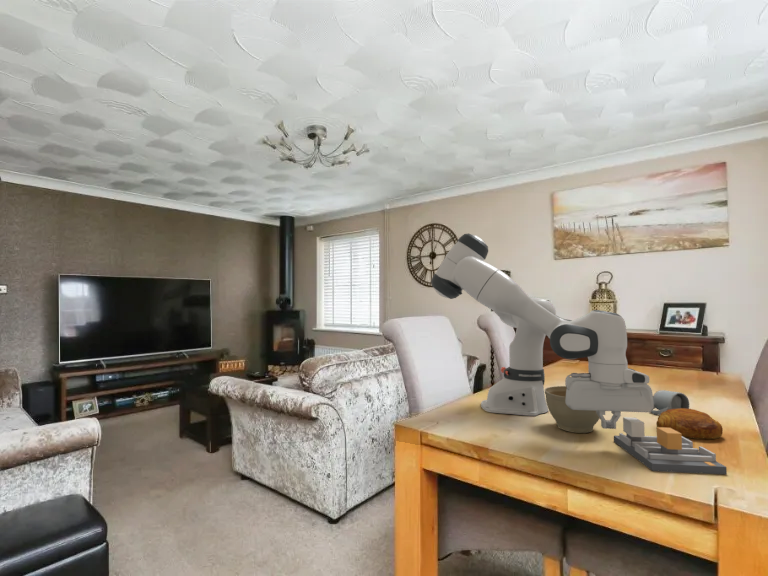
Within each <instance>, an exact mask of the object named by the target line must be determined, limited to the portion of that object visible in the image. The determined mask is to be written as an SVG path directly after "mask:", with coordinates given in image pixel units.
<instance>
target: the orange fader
mask: <svg viewBox="0 0 768 576" xmlns="http://www.w3.org/2000/svg"><path fill="white" fill-rule="evenodd" d="M656 436H657V443H659V444H660V445H661V453H662V454H675V455H678V450H682V434H681V433H679V432H677V431H675V430H674V429H672V428H664V427H657V426H656Z"/></svg>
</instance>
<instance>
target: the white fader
mask: <svg viewBox="0 0 768 576" xmlns="http://www.w3.org/2000/svg"><path fill="white" fill-rule="evenodd" d="M622 423H623V424H622V425H623V426H622V428H623V430H622V431H623V432H624V433H625V435H626V436H627V437H628V438H629V439H631V441H633V442H641V437H645V436H646V435H645V433H646V432H645V422H644V421H643V420H640V419H639V418H637V417H629V416H628V417H626V416H625V417H622Z"/></svg>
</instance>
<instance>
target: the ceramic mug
mask: <svg viewBox="0 0 768 576" xmlns="http://www.w3.org/2000/svg"><path fill="white" fill-rule="evenodd" d="M653 403H654V407H653V410H652V411H651V412H650V413H651V414H652V415H655V416H656V415H657V416H660V414H661V413H662V412H664V411H667V410H670V409H680V408H686V409H690V400H689V398H688V396H687V395H686V394H685V393H683V392H679V391H670V390H666V389H665V390H661V389H660V390H658V391H655V393H653ZM654 409H656V410H654Z"/></svg>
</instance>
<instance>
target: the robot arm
mask: <svg viewBox="0 0 768 576" xmlns="http://www.w3.org/2000/svg"><path fill="white" fill-rule="evenodd" d="M488 254H489V246H488V245H487V244H486V242H485V241H484V239H482V238H481V237H480V236H479V235H476V234H470V233H464V234H462V235H461V236H460V237H459V238H458V239H457V242H456V243H455V244H453V246H452V247H451V248H450V250H449V251H448V252H447V253H446V254H445V257H444V259H443V260H442V262H441V263H440V265H439V266H438V268H437V270H436V272H435V273H433V276H432V277H431V281H430V282H431V287H432V288H433V289H434V291H435V292H436V293H437V294H438V295H439V296H441V297H443V298H444V299H445V298H446V299H450V300H453V299H457V298H458V297H459V296H460V295H463V291H464V292H465V293H467V294H468V295H469V296H471V297H472V299H474V300H476V301H477V302H479V303H480V304H481V305H483V306H484V307H487V308H488V309H490V310H492V312H494V313H495V314H496V315H497V316H498V317H499V320H500V321H501V322H502V323H504V324H505V325H507V326H509V327H512V328H516V331H515V333H514V334H515V335H514V338H513V340H512V341H511V342H510V344H509V347H508V349H509V350H508V353H509V354H508V355H509V356H508V357H509V358H508V359H509V363H508V364H509V366H508V367H505V366H502V367H500V372H501V373H503V378H502V379H500V380H499V381H497V382H496V383H495V384H493V385H492V386H490V387H489V389H488V391H487V396H486V397H487V398H486V399H484V400H482V401H480V407H481V408H482V410H484V411H486V412H488V413H494V414H509V415H520V416H530V417H536V416H538V415H540V414H544V413H547V412H549V409H548V406H547V402H546V394H545V388H544V386H545V380H546V379H545V377H546V376H545V374H546V373H545V369H544V365H543V363H544V362H543V361H544V360H543V359H544V358H543V357H544V353H543V352H544V342H545V338H546V336H547V338H548V339H549V344H550V348H551V349H552V351H553V352H554V353H555V354H556V355H557V356H559V357H560V358H562V359H566V360H577V359H583V358H587V359H588V360H587V361H588V363H587V364H588V372H579V373H578V372H571V373H570V374H568V375H566V377H565V380H564V381H565V385H564V386H566V388H567V390H566V399H565V402H566V405H567V406H568V407H569V408H570V409H572V410H591V411H596V413H597V415H598V416H599V418H600V419H599V420H600V427H601V428H602V429H609V430H610V429H612V430H614V429H615V430H616V429H617V422H618V421H619V419H620V417H621V416H622V415H621V412H626V413H629V412H630V413H651V411H652V410H654V409H653V407H654V403H653V395H654V393H653V389H652V387H651V386H650V385H649V383H650V376H649V375H648V374H646V373H644V372H640V371H637V370H635V369H634V368H630V367H628V359H627V356H626V352H627V348H628V331H627V326H626V322H625V321H626V320H625V318H623V317H622V316H621V315H620V314H619V313H615V312H613V311H607V310H606V311H605V310H601V309H600V310H599V309H593V310H590V312H588V313H587V314H585V315H583V316H580V317H578V318H575V319H573V320H571V319H568V318H567V319H565V318H562V317H560V316H558V315H557V311H556V307H555V306H554V304H553V303H552V302H551V301H549V300H548V299H546V298H542V297H536V296H534V297H533V296H532V297H531V296H529V295H528V293H526V292H525V290H523V288H522V287H521V286H520V284H518V283H517V282H516V281H515V280H514V279H513V278H512V277H510V276H509V275H508V274H507V273H506V272H504V271H502V270H501V269H499V268H497V267H496V266H495V265H493V264H491V263H489V262H487V261H485V260H486V258H487V256H488ZM606 412H611V414H612V416H611V418H610V419H605V417H604V416H606Z"/></svg>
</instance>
